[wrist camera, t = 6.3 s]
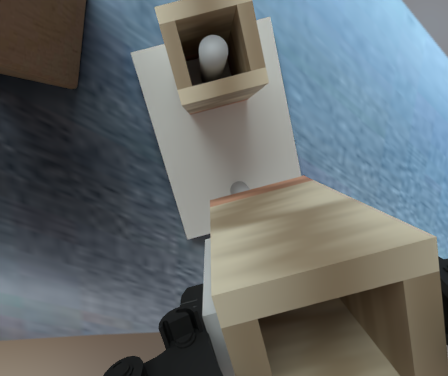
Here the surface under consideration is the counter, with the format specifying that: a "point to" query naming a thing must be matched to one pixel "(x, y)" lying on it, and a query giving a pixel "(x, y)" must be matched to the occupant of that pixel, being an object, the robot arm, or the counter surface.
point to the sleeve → (324, 285)
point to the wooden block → (42, 40)
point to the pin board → (218, 129)
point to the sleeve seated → (235, 39)
